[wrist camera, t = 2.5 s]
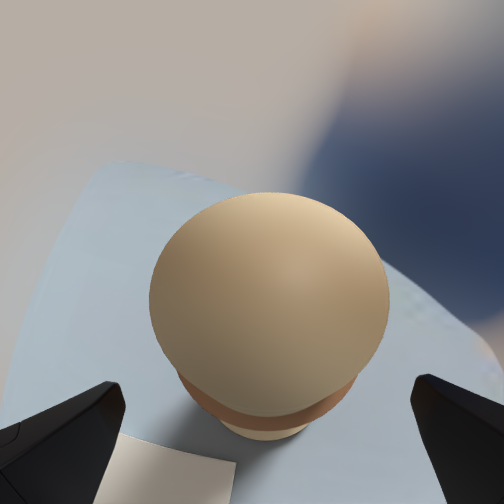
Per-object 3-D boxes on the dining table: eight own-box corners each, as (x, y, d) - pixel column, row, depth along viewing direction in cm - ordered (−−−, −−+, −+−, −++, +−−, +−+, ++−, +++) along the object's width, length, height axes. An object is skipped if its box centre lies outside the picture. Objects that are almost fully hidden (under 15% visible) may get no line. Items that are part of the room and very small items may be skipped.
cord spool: (317, 444, 14) (432, 462, 4) (199, 429, 15) (68, 412, 4) (327, 337, 18) (407, 182, 7) (220, 325, 19) (162, 161, 8)
